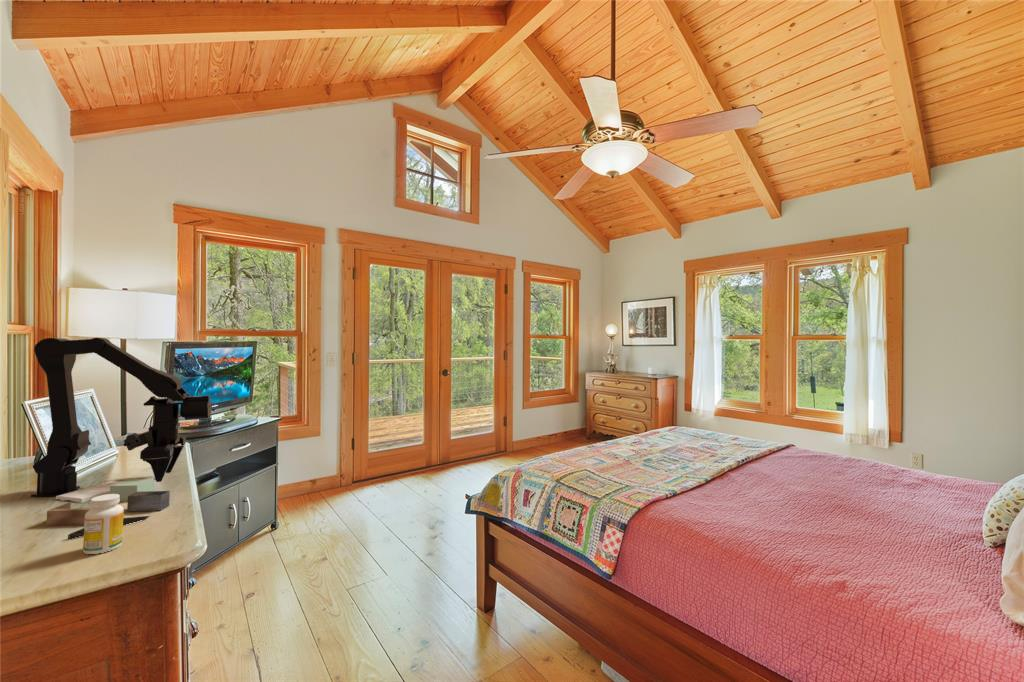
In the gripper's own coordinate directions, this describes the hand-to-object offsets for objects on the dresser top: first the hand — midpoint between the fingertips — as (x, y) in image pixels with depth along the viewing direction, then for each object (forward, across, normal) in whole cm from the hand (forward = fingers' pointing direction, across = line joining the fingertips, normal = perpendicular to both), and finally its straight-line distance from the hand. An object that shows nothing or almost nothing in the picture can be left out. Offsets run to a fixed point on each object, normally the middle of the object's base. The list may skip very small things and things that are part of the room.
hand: (163, 477), depth 121 cm
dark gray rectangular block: (+2, +23, +2) cm, 23 cm away
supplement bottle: (+2, +44, +1) cm, 45 cm away
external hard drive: (+2, +4, -13) cm, 14 cm away
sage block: (+2, +11, -4) cm, 12 cm away
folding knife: (+2, +34, -1) cm, 34 cm away
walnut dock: (+2, +25, -8) cm, 26 cm away
